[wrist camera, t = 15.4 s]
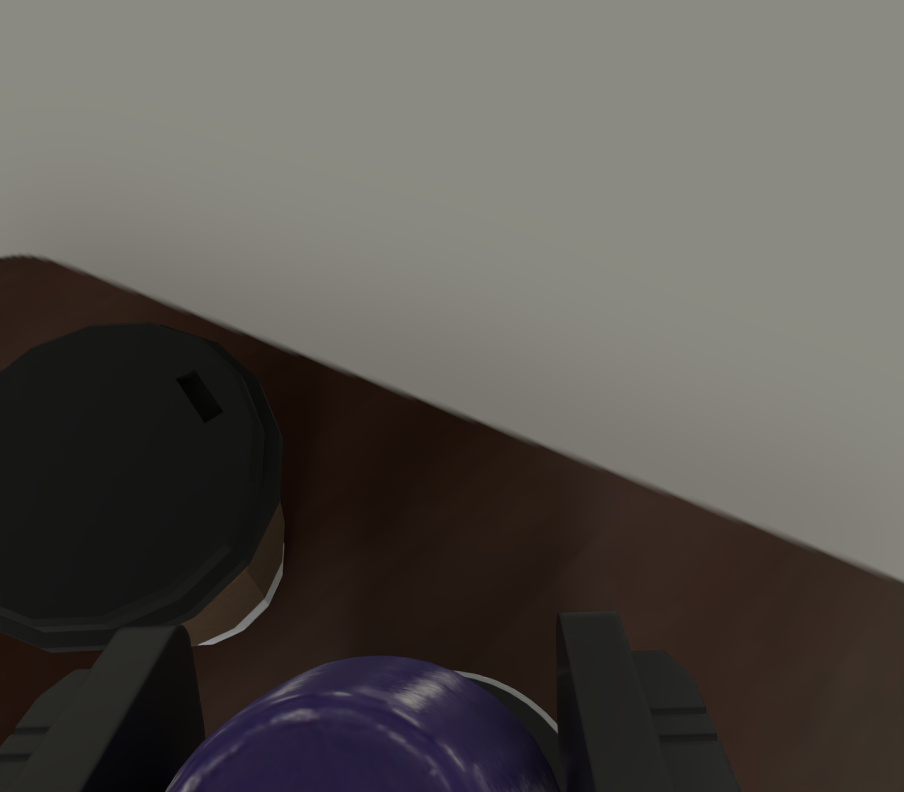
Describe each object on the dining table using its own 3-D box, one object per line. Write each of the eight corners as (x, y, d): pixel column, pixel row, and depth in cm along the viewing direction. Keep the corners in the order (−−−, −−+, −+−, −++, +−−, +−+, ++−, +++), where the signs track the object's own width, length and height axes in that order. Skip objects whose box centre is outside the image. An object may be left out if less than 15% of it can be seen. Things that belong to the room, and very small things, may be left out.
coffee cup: (257, 410, 40) (172, 253, 29) (386, 596, 35) (342, 493, 25) (41, 544, 37) (-140, 426, 26) (153, 763, 33) (-10, 728, 22)
